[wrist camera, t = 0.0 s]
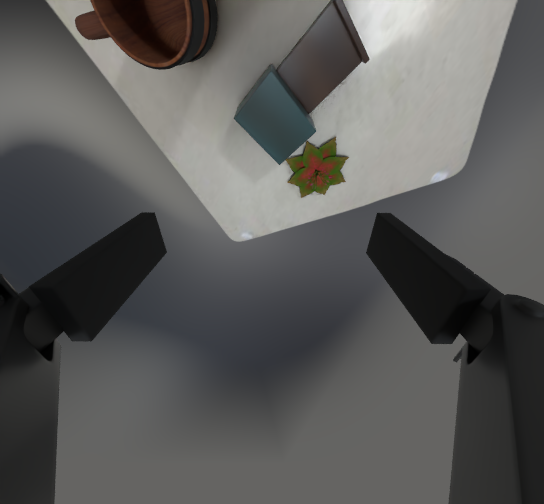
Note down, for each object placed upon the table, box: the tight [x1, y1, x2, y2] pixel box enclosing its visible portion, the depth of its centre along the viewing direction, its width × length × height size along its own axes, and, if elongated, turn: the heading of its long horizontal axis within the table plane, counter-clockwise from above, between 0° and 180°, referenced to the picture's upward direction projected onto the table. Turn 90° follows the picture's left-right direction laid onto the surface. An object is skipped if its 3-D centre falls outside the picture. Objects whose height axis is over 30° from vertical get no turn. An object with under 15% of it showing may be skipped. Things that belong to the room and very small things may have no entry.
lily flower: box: [286, 137, 349, 198], centre depth 37 cm, size 12×12×5 cm
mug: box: [75, 0, 218, 70], centre depth 20 cm, size 9×12×12 cm
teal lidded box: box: [234, 0, 369, 165], centre depth 28 cm, size 17×9×6 cm, turn 134°
